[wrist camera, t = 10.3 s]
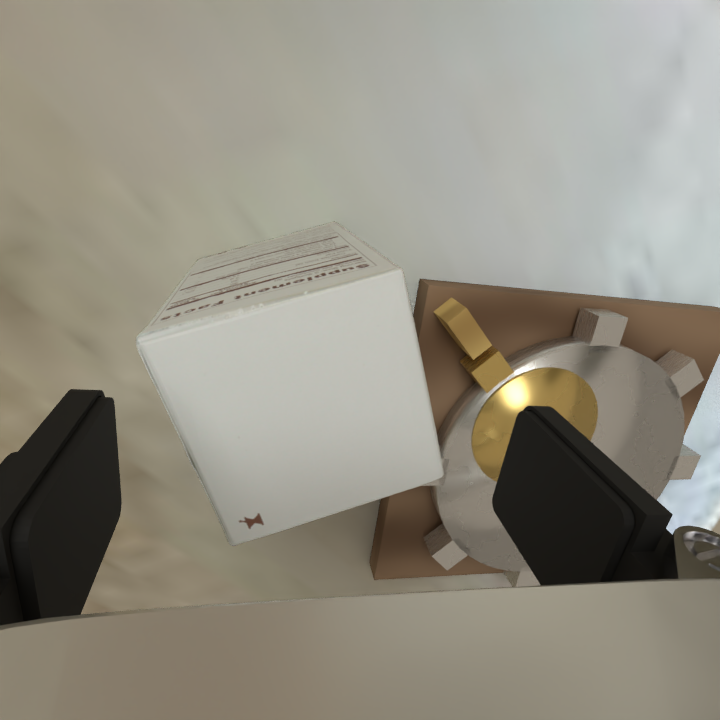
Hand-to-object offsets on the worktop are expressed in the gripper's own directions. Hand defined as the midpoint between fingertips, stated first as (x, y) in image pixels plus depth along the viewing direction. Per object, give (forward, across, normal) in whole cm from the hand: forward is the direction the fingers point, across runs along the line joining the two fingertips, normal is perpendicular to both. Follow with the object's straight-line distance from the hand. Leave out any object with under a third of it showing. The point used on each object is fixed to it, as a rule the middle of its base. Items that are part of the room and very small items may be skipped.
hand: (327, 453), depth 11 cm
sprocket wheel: (+13, -17, +9) cm, 23 cm away
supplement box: (+15, 0, +1) cm, 15 cm away
